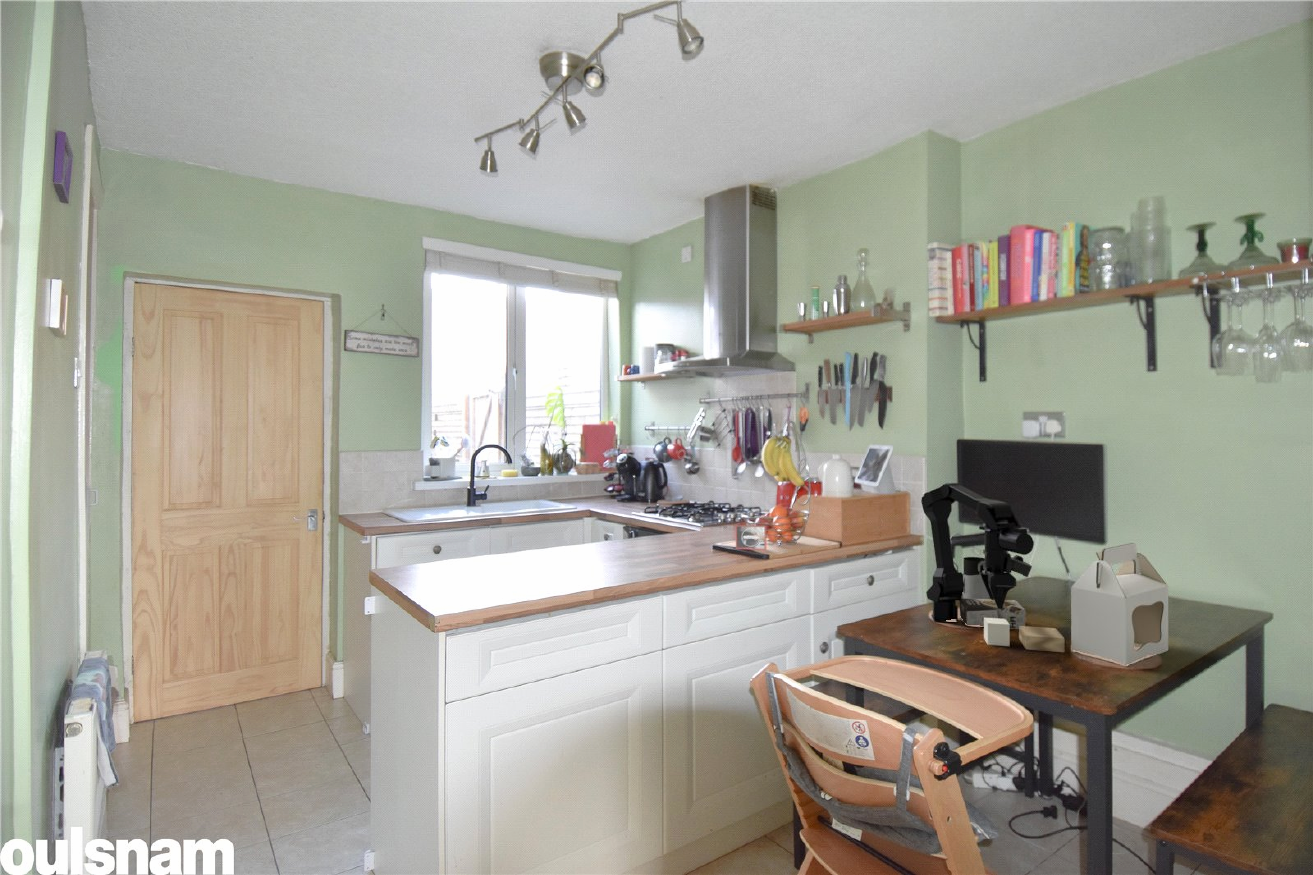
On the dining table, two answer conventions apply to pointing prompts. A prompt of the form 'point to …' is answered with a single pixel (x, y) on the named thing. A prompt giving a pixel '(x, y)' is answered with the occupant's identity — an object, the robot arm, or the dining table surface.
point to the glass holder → (973, 579)
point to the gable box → (1120, 607)
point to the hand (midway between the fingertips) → (996, 604)
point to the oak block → (1041, 638)
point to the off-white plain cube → (996, 631)
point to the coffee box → (991, 612)
